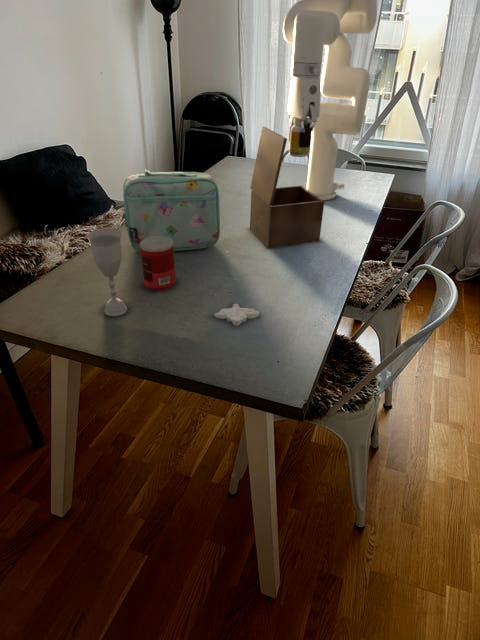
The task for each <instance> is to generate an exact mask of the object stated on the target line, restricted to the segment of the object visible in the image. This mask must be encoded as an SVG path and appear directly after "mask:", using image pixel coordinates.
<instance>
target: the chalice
mask: <svg viewBox="0 0 480 640" xmlns="http://www.w3.org/2000/svg"><path fill="white" fill-rule="evenodd" d="M122 235H123V234H122V232H121V231H120V230H119V229H116V228H99V229H95V230H93V231H91V232H89V233H88V235H87V239H88V241H89V242H90V246H91V253H92V259H93V261H94V263H95V265H96V266H97V268H98V270H99V271H100V272H101V273H102V275H103V276H104V277H106V278H108V283H107V285H108V286H109V290H108V293H109V294H110V295H111V298H109V299H107V301H106V303H105V307H104V310H103V311H104V312H103V313H104V314H105V315H107V316H110V317H118V316H121V315H124V314H126V312H127V311H128V307H127V305H126V304H125V303H124V301H123V299H121V298H119V297H117V292H118V290H117V289H116V288H115V286H116V282H115V279H114V277H116V276H117V274H118V272H119V270H120V266H121V264H122V258H123V252H122V245H121V238H122Z"/></svg>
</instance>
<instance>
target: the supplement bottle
mask: <svg viewBox="0 0 480 640" xmlns="http://www.w3.org/2000/svg"><path fill="white" fill-rule="evenodd" d="M305 119H309V117H306V118H305ZM307 123H308V122H305V126H306V124H307ZM294 124H295V125H293V126H292V127H291V133H290V132H289V133H290V142H289V146H288V147H289V148H288V149H289V150H288V154H289V156H291V157H294V158H304V157H305V158H306V157H307V156H309V151H310V147H305V148H300V147H299V138H300V132H302V128H301V120H300V119H298V118H296V117H295V118H294Z"/></svg>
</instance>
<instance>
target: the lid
mask: <svg viewBox="0 0 480 640" xmlns="http://www.w3.org/2000/svg"><path fill="white" fill-rule="evenodd" d="M287 141H288V138H287V137H285V136H283V135H281V134H279V133H277V132H275V131H274V130H272V129H270V128H268V127H267V126H262V127H261V131H260V138H259V142H258V147H257V152H256V157H255V161H254V168H253V172H252V178H251V182H250V183H251V184H250V187H249V188H250V191H251V190H252V191H253V192H255V193H256V194H257V195H258V196H259V197H260V198H262V199H263V200H264V201H265V202H266V203H267V204H269V205H272V203H273V199H274V195H275V190H276V188H277V186H278V181H279V177H280V172H281V168H282V163H283V159H284V154H285V151H286V146H287Z"/></svg>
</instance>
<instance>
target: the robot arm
mask: <svg viewBox="0 0 480 640" xmlns="http://www.w3.org/2000/svg"><path fill="white" fill-rule="evenodd" d="M377 20H378V3H377V0H299V1H297V2H295V3H294V4H293V5H292V6H291V7H290V8H289V10H288V11H287V13H286V14H285V17H284V20H283V25H282V35H283V38H284V41H286V42H287V43H288V44H290V45H292V54H291V66H290V77H291V80H290V86H289V94H288V102H287V103H288V104H287V113H288V118H289V134H288V142H289V143H290V133H291V127H292V126H293V125H295V124H294V118H295V117H296V118H298V119H300V120H301V128H302V132H300V138H299V147H300V148H305V147H309V159H308V169H307V179H306V180H307V181H306V187H305V188H306V189H307V190H309V191H310V192H312V193H313V194H315V195H316V196H317V197H319V198H320V199H322V200H323V201H328V200H329V201H330V200H332V199H335V198H336V196H337V192H336V191H337V190H344V189H345V184H344V183H338V182H334V179H335V173H336V164H337V157H338V150H339V146H338V145H339V144H338V142H337V140H336V138H335V136H334V135H335V134H336V135H343V136H344V135H346V136H356V135H358V134H359V133H360V132H361V131H362V128H363V125H364V124H363V123H364V119H365V113H366V109H367V103H368V96H369V91H370V84H371V76H370V72H369V71H368V70H367V69H366V68H362V67H353V66H352V67H351V60H352V53H353V50H352V46H351V44H350V42H349V41H348V39H347V37H346V35H345V34H356V35H357V34H358V35H365V34H370V33H371V32H372V31H373V30H374V28H375V27H376V24H377ZM324 49H325V53H324ZM323 54H324V55H323ZM323 56H324V59H323ZM323 60H324V61H323ZM322 64H323V67H322ZM322 96H323V97H324V98H327V99H337V100H348V101H351V102H352V103H343V102H332V101H322V102H321V97H322ZM306 117H307V118H309V119H305V118H306ZM305 122H308V123H307V124H306V126H305Z"/></svg>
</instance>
